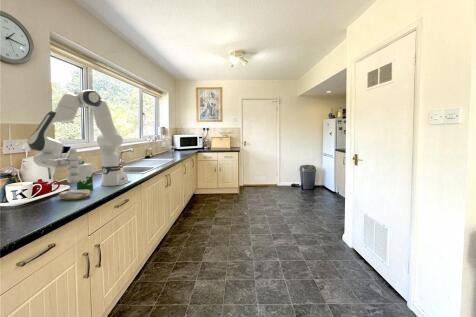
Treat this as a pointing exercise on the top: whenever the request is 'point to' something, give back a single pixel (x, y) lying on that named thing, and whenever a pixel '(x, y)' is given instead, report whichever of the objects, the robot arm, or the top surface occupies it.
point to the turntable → (74, 194)
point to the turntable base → (75, 199)
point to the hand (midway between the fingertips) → (74, 161)
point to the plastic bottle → (73, 167)
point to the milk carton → (85, 176)
